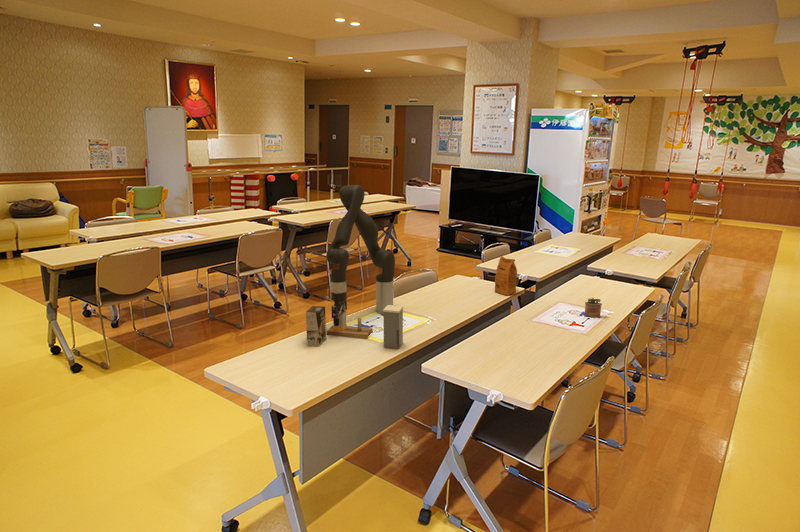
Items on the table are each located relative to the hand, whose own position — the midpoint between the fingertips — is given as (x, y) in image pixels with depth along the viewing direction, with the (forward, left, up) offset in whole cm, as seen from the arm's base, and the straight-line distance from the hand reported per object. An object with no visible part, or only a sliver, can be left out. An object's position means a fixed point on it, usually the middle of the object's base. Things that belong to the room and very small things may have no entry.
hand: (339, 322), depth 249 cm
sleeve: (0, 0, -3) cm, 3 cm away
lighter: (-54, +120, -5) cm, 132 cm away
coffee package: (-87, +73, -5) cm, 114 cm away
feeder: (+9, +29, -5) cm, 31 cm away
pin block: (0, +5, -5) cm, 7 cm away
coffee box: (+14, -6, -5) cm, 16 cm away
